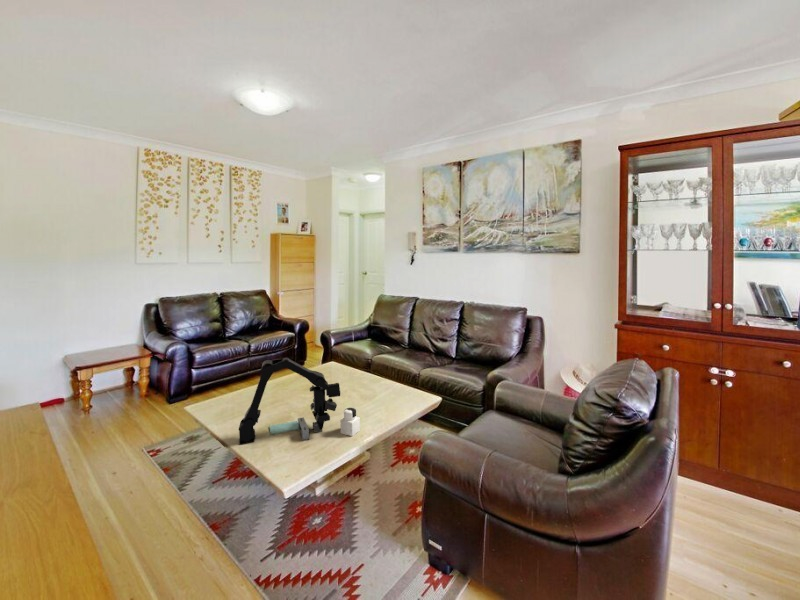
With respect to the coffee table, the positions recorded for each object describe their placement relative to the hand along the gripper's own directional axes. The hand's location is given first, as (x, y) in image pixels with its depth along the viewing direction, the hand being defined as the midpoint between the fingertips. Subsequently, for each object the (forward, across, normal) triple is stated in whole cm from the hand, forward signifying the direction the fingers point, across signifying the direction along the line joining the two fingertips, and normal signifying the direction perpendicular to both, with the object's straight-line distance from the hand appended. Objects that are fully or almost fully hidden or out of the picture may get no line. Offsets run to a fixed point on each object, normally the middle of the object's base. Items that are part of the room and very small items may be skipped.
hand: (320, 427), depth 186 cm
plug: (+1, 0, +3) cm, 3 cm away
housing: (+1, 0, +8) cm, 9 cm away
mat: (+1, +10, +16) cm, 19 cm away
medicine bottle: (+2, -8, -14) cm, 16 cm away
